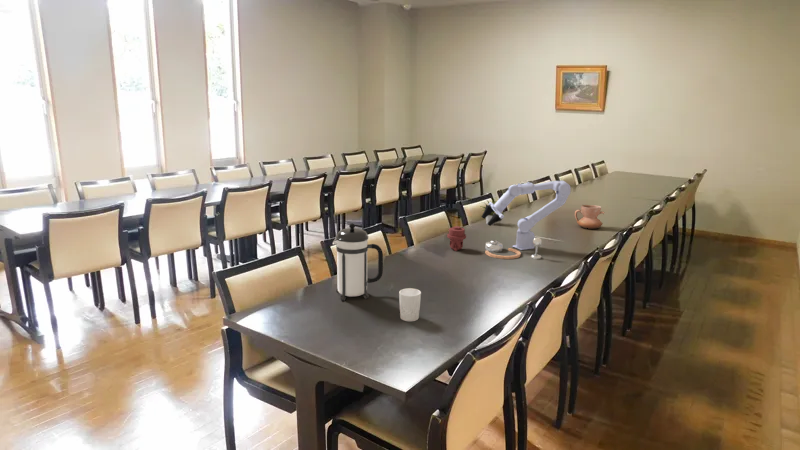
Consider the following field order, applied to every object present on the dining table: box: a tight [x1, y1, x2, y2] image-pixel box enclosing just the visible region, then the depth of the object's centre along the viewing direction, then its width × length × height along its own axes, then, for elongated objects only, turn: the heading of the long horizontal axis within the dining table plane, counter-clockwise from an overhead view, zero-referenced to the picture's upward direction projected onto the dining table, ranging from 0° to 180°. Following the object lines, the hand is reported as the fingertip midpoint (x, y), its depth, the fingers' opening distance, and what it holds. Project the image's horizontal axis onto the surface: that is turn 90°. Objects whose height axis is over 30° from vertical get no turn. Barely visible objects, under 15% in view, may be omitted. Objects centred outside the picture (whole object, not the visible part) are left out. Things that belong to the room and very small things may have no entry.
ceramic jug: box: [574, 204, 605, 230], centre depth 330 cm, size 18×14×14 cm
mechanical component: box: [446, 225, 467, 252], centre depth 275 cm, size 12×10×10 cm
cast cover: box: [485, 239, 504, 253], centre depth 276 cm, size 9×9×5 cm
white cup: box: [398, 287, 422, 322], centre depth 186 cm, size 8×8×10 cm
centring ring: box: [484, 247, 522, 260], centre depth 268 cm, size 18×14×1 cm
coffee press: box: [332, 222, 384, 302], centre depth 205 cm, size 17×16×30 cm
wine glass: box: [530, 236, 543, 260], centre depth 262 cm, size 5×5×11 cm
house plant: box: [479, 200, 498, 226], centre depth 336 cm, size 14×14×16 cm
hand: (485, 221), depth 280 cm, fingers open, 7 cm apart
